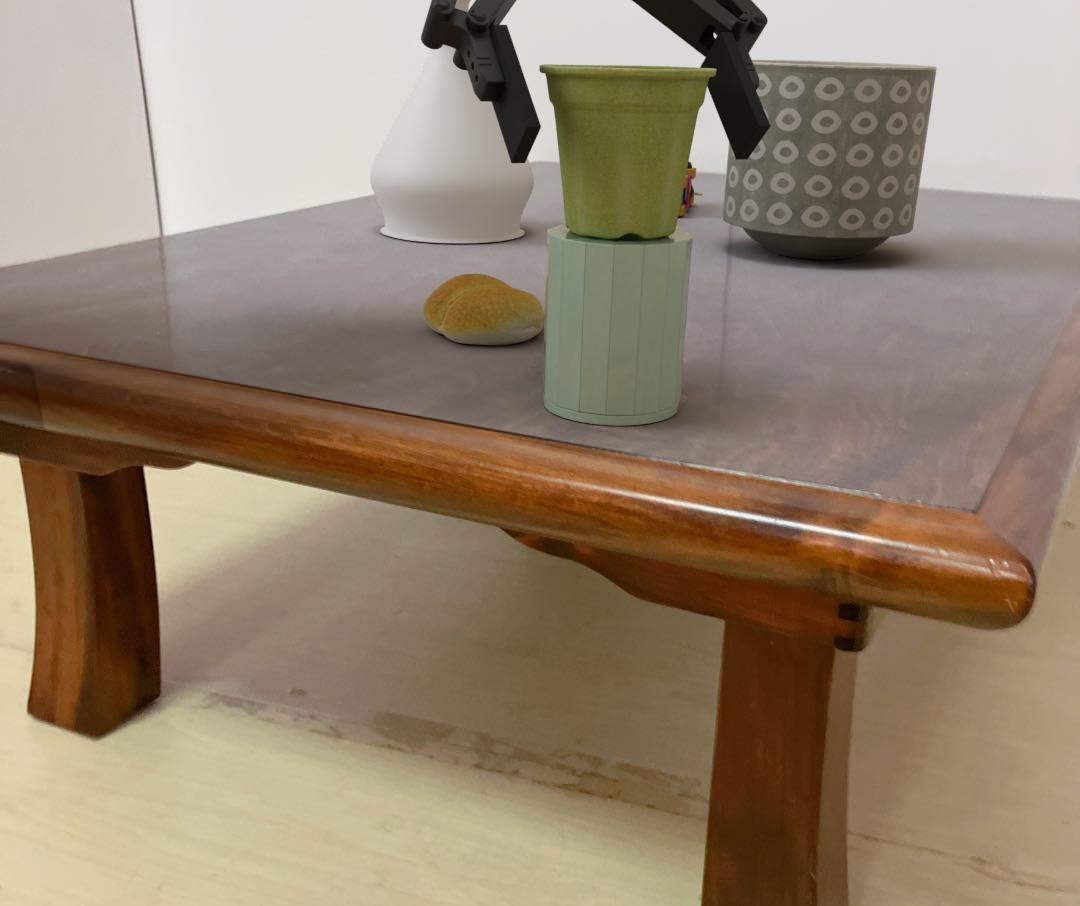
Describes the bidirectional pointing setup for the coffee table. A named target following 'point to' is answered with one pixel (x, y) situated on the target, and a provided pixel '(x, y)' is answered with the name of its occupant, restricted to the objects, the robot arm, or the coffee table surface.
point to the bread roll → (483, 311)
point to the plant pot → (624, 144)
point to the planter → (832, 157)
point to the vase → (448, 163)
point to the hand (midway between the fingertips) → (644, 145)
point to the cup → (615, 326)
